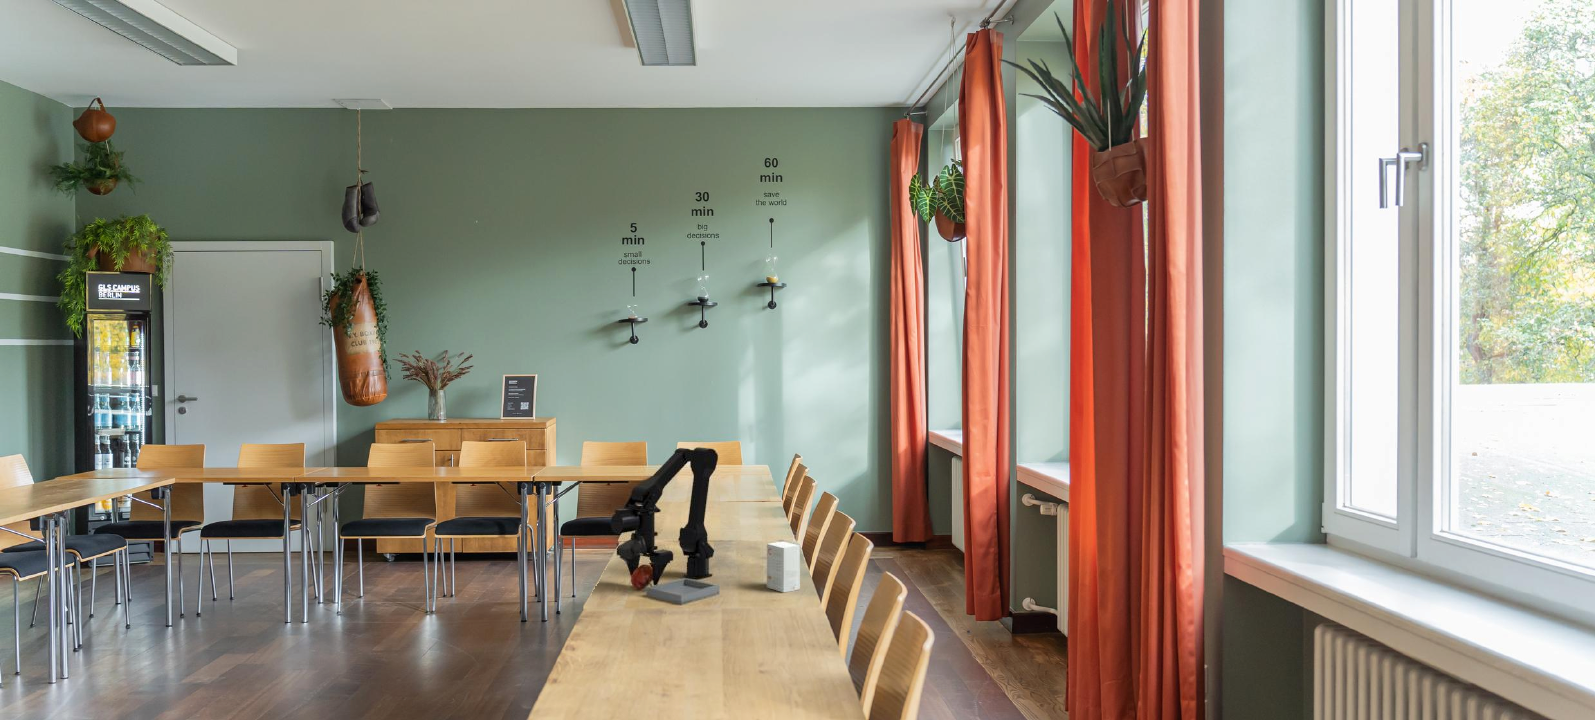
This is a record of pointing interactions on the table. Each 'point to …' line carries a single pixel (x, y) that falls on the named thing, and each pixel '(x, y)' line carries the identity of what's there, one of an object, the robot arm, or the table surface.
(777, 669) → the table surface
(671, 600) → the tray
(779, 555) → the small box
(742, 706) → the table surface
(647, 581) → the pomegranate
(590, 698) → the table surface
